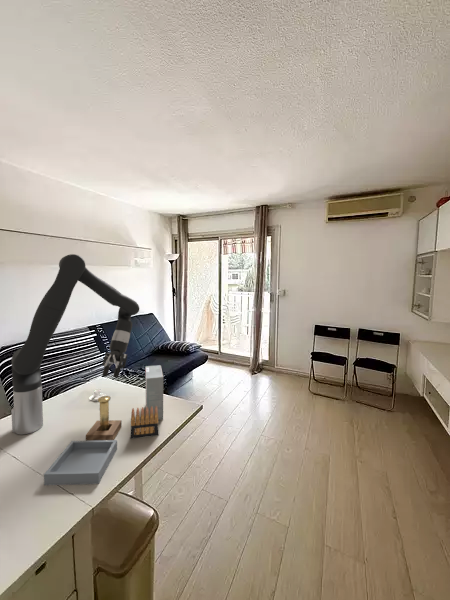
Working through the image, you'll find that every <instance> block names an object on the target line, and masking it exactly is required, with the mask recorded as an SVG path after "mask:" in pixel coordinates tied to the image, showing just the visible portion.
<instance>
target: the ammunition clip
mask: <svg viewBox="0 0 450 600" xmlns="http://www.w3.org/2000/svg"><path fill="white" fill-rule="evenodd" d="M140 409H141V410H140ZM140 409H139V407H137V408H136V412H135V409H134V407H132V408H131V413H130V414H131V415H130V416H131V417H130V437H129V438H130V439H138V438H147V437H156V436H159V420H158V409H157V406H156V407H155V413H154V415H153V407H152V406H151V409H150V420H149V410H148V407H146V406H145V409H144V407H143V406H141V408H140ZM135 414H136V415H135Z"/></svg>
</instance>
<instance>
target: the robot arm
mask: <svg viewBox="0 0 450 600" xmlns="http://www.w3.org/2000/svg"><path fill="white" fill-rule="evenodd" d="M58 267H59V269H58V272H57V275H56V276H55V277H56V278H55V279H54V282H53V283H52V285H51V286H50V287H49V289H48V290H47V291H46V292H45V294H44V295H43V297H42V299H41V301H40V302H39V305H38V306H37V308H36V311H35V313H34V315H33V317H32V321H31V324H30V325H31V326H30V329H29V332H28V336H27V339H26V340H25V342H24V344H23V346H22V348H19V349H17V350H16V351H14V353H13V355H12V357H11V376H12V377H11V380H12V392H13V394H12V395H13V407H12V408H11V411H10V413H11V429H12V433H15V434H17V435H26V434H31V433H35V432H36V431H39V430H40V429H41V428H42V427H43V426H44V413H43V411H44V410H43V385H42V384H43V383H42V373H41V371H42V370H41V365H42V362H43V359H44V356H45V353H46V351H47V348H48V345H49V342H50V340H51V339H52V336H53V335H54V334H55V332H56V330H57V328H58V325H59V324H60V323H61V321H62V318H63V316H64V314H65V311H66V309H67V308H68V307H67V306H68V305H69V302H70V299H71V297H72V293H73V291H74V289H75V287H76V285H77V283H78V282H79V283H81V284H82V285H84V286H86V287H87V288H89V289H90V290H92V292H94V294H96V295H98V296H99V297H100V298H101V299H103V300H104V301H106V302H107V303H108V304H110V305H112V306H115V307H118V308H119V309H118V313H117V323H116V327H115V329H114V332H113V335H112V337H111V341H110V344H109V348H108V349H109V351H110V352H105V354H104V358H103V361H102V364H101V365H102V366H103V370H102V375H101V376H104V377H107V376H108V375H109V372H110V367H111V366H112V365H115V368H114V373H113V375H112V376H113V378H119V376H120V372H121V369H125V367H126V364H127V358H128V353H127V354H126V352H127V350H128V345H129V341H130V338H131V332H132V328H133V322H132V321H131V320H132V318H131V317H132V316H134V315H137V314H138V313H139V312H140V305H139V304H138V302H137V301H136V300H134V299H132V298H131V297H129V296H127V295H125V294H123V293H122V292H120V291H119V290H118V289H117V288H116V287H114V286H113V285H111V284H110V283H108V282H106V281H105V280H103V278H102V279H101V278H100V277H98V276H97V275H96V274H94V273H93V272H92V271H90V270H89V269H88V268H87V267H86V261H85V260H84V259H83V257H82V256H80V255H79V254H73V253H71V254H68V255H65V256H63V257H62V258H60V260H59V263H58Z"/></svg>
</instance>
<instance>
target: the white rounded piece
mask: <svg viewBox="0 0 450 600" xmlns="http://www.w3.org/2000/svg"><path fill="white" fill-rule="evenodd" d="M101 392H102V391H101V389H99V388H98V389H95V390H94V391H93V394H92V395H91V396H89V398H88V400H89V401H92V402H95V401H96V402H98V398H100V397H101V395H100V394H102V393H101ZM93 397H94V398H93ZM92 398H93V399H92Z"/></svg>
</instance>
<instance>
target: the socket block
mask: <svg viewBox="0 0 450 600" xmlns="http://www.w3.org/2000/svg"><path fill="white" fill-rule="evenodd" d="M122 422H123V421H122V420H121V419H117V420H116V419H115V420H110V419H109V430H108V431H100V420H96V421H95V423H94V424H93V425H92V426H91V428H90V429H89V430H88V431H87V433H86V434H85V441H87V440H116V437H117V435H118V434H119V432H120V431H121V429H122V426H123V425H122Z"/></svg>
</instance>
